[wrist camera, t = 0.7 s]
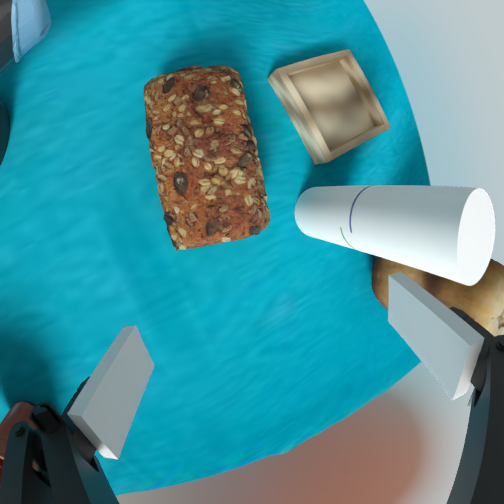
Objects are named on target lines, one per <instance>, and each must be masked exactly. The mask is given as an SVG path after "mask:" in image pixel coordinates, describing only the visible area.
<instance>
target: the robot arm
mask: <svg viewBox="0 0 504 504" xmlns="http://www.w3.org/2000/svg"><path fill="white" fill-rule="evenodd" d="M50 27H51V16H50V13H49V9H48V5H47V1H46V0H0V76H1V75H2V74H3V73H4V72H5V71H6V70H7V69H9V68H10V67H11V66H12V65H13V64H14V63H17V62H19V61H20V59H21V57H22V56H23V55H25V54H26V53H27V52H28V51H29V50H30V49H31V48H33V47H34V46H35V45H36V44H38V43H39V42H40V41H41V40H43V39H44V38H45V36H46V35H47V34H48V32H49V30H50ZM8 136H9V116H8V112H7V109H6V107H5V105H4V103H3V102H2V101H1V100H0V164H1V162H2V159H3V157H4V154H5V150H6V147H7V142H8ZM388 322H389V323H390V324H391V325H392V326H393V327H394V329H395V330H396V331H397V332H398V333H399V334H400V336H401V337H402V338H403V339H404V340H405V342H406V343H407V344H408V345H409V346H410V348H411V349H412V350H413V351H414V353H415V354H416V355H417V356H418V357H419V359H420V360H421V361H422V362H423V363H424V365H425V366H426V367H427V369H428V370H429V371H430V372H431V374H432V375H433V376H434V378H435V379H436V380H437V381H438V382H439V384H440V385H441V386H442V388H443V389H444V390H445V392H446V393H447V394H448V396H449V397H450V398H451V400H454V399H456V398H458V397H460V396H462V395H463V394H465V393H466V392H467V390H468V387H469V384H470V382H471V383H472V384H473V386H474V387H475V388H474V391H473V393H472V395H471V398H470V400H469V403H468V406H470V404H471V411H470V417H469V423H468V429H467V434H466V439H465V444H464V448H463V452H462V457H461V460H460V465H459V468H458V471H457V475H456V478H455V481H454V484H453V487H452V490H451V493H450V496H449V499H448V501H447V504H504V335H497V336H494V335H492V334H491V333H490V332H489V331H488V330H486V329H485V328H484V327H483V326H481V325H480V324H479V323H478V322H475V320H474V319H473V318H471V317H469V315H468V314H466V313H465V312H464V311H463V310H460V309H458V308H455V307H451V308H448V307H447V306H445V305H444V304H443V303H441V302H440V301H439V300H438V299H436V298H435V297H434V296H432V295H431V294H430V293H429V292H427V291H426V290H425V289H423V288H422V287H421V286H419V285H418V284H417V283H415V282H414V281H413V280H411V279H410V278H409V277H407V276H406V275H405V274H403V273H402V272H399V273H395V274H391V275H389V307H388ZM153 368H154V364H153V362H152V360H151V357H150V355H149V353H148V351H147V349H146V347H145V344H144V342H143V340H142V338H141V335H140V333H139V331H138V328H137V326H136V325H132V326H124V327H123V329H122V330H121V332H120V333H119V334H118V336H117V337H116V339H115V340H114V342H113V343H112V345H111V346H110V348H109V349H108V351H107V352H106V353H105V355H104V356H103V358H102V359H101V361H100V362H99V364H98V366H97V367H96V369H95V370H94V372H93V373H92V375H91V376H90V377H88V378H87V379H86V380H85V381H83V382H82V383H81V385H80V386H79V388H78V389H77V392H76V393H75V394H74V396H73V398H72V399H71V400H70V402H69V404H68V405H67V407H66V408H65V410H64V412H63V413H62V415H61V416H60V414H59V413H58V412H57V411H56V409H55V408H54V406H53V405H52V404H51V403H49V402H43V403H40V404H38V405H36V406H35V407H34V408H33V409H32V410H31V412H30V414H29V419H30V420H31V421H32V422H33V423H34V425H35V426H36V427H37V428H38V429H33V428H32V427H31V426H30V425H29V424H28V422H26V421H20V422H17V423H16V424H14V425H13V427H12V428H11V430H10V432H9V436H8V441H7V445H6V450H5V456H4V461H3V467H2V474H1V482H0V504H119V502H118V501H117V498H116V496H115V494H114V493H113V491H112V489H111V487H110V485H109V482H108V480H107V478H106V476H105V474H104V472H103V470H102V467H101V465H100V463H99V460H98V459H97V457H96V456H95V455H94V454H95V451H96V449H97V450H98V451H99V452H100V453H101V455H102V456H103V457H106V458H113V459H119V456H120V453H121V451H122V448H123V445H124V442H125V440H126V437H127V434H128V432H129V429H130V426H131V424H132V421H133V418H134V416H135V413H136V411H137V408H138V405H139V403H140V400H141V398H142V395H143V393H144V390H145V388H146V385H147V383H148V380H149V378H150V376H151V373H152V371H153ZM471 402H472V403H471ZM33 462H34V463H35V464H36V465H37V466H38V469H37V471H36V470H35V469H34V468H33Z"/></svg>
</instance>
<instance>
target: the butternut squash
mask: <svg viewBox="0 0 504 504" xmlns="http://www.w3.org/2000/svg"><path fill="white" fill-rule="evenodd" d="M399 272H402V273H403V274H405V275H406V276H407V277H409V278H410V279H411V280H413V281H414V282H415V283H417V284H418V285H419V286H421V287H422V288H423V289H425V290H426V291H427V292H429V293H430V294H431V295H432V296H434V297H435V298H436V299H438V300H439V301H440V302H441V303H443V304H444V305H445V306H447V307H448V308H451V307H455V308H458V309H460V310H463V311H464V312H465V313H466V314H468V315H469V317H471V318H473V319H474V320H475V322H478V323H479V324H480V325H481V326H483V327H484V328H485V329H486V330H488V331H489V332H490V333H491V334H492V335H494V336H497V335H502V334H503V333H504V266H503V265H502V264H500V263H499V262H497V261H494V260H493V259H491V258H490V261H489V264H488V266H487V269H486V271H485V273H484V274H483V276H482V277H481V279H480V280H479V281H478V282H477V283H476V284H474V285H472V286H468V285H465V284H462V283H459V282H456V281H453V280H450V279H447V278H444V277H441V276H438V275H435V274H432V273H429V272H426V271H423V270H420V269H417V268H413V267H410V266H407V265H404V264H401V263H398V262H395V261H391V260H388V259H385V258H382V257H378V256H375V258H374V263H373V268H372V289H373V292H374V295H375V297H376V298H377V300H379V301H380V303H381V304H382V305H383V306H384V307H385V308H386V309H387V310H388V307H389V275H391V274H395V273H399Z"/></svg>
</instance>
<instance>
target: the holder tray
mask: <svg viewBox="0 0 504 504" xmlns="http://www.w3.org/2000/svg"><path fill="white" fill-rule="evenodd" d="M267 80H268V82H269V83H270V85H271V87H272V88H273V90H274V91H275V93H276V95H277V96H278V98H279V100H280V102H281V103H282V105H283V107H284V108H285V110H286V112H287V114H288V115H289V117H290V119H291V121H292V122H293V124H294V126H295V128H296V130H297V132H298V133H299V135H300V137H301V139H302V141H303V143H304V145H305V146H306V148H307V150H308V152H309V154H310V156H311V158H312V160H313V162H314V164H315V165H316V164H322V163H327V162H330V161H331V160H333V159H335V158H337V157H338V156H340V155H342V154H344V153H346V152H347V151H349V150H351V149H353V148H355V147H356V146H358V145H360V144H362V143H364V142H366V141H367V140H369V139H371V138H373V137H375V136H377V135H379V134H380V133H382V132H384V131H386V130H388V129H390V128H391V127H390V125H389V122H388V120H387V118H386V116H385V114H384V112H383V110H382V107H381V105H380V103H379V101H378V99H377V97H376V95H375V94H374V92H373V90H372V88H371V86H370V84H369V82H368V80H367V79H366V77H365V75H364V73H363V72H362V70H361V68H360V66H359V65H358V63H357V61H356V60H355V58H354V56H353V55H352V53H351V51H350V50H349V49H347V50H343V51H338V52H334V53H330V54H326V55H322V56H318V57H314V58H311V59H307V60H304V61H300V62H297V63H294V64H290V65H287V66H284V67H281V68H278V69H276V70H275V71H274V72H273V73H272V74H271V75H270V76H269V77H268V78H267Z"/></svg>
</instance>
